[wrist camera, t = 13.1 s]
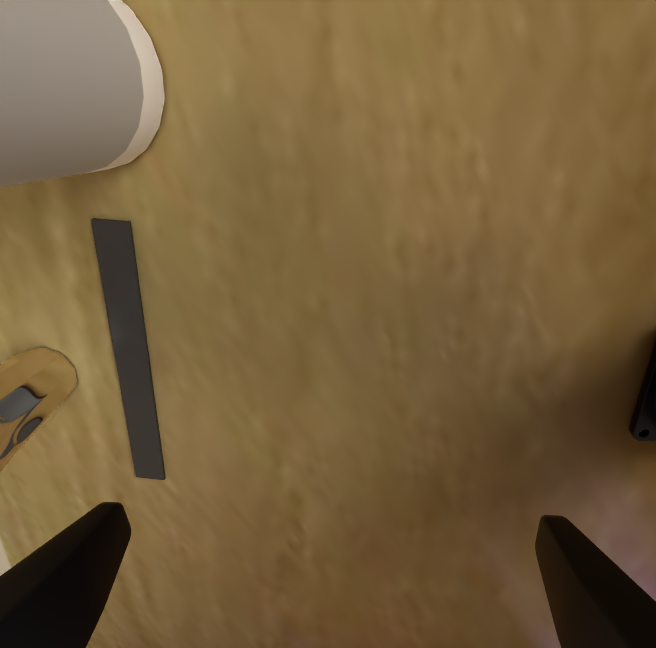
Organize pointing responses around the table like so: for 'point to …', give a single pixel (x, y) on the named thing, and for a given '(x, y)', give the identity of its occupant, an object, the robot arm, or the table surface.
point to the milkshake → (30, 395)
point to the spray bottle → (74, 88)
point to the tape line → (129, 342)
